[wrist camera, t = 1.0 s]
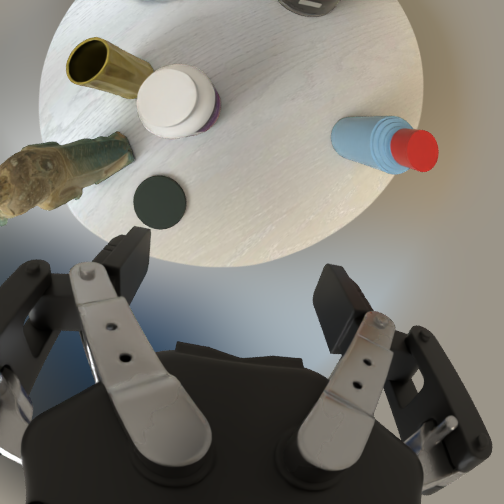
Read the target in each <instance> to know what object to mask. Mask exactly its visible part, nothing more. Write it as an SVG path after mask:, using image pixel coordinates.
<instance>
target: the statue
mask: <svg viewBox="0 0 504 504" xmlns="http://www.w3.org/2000/svg"><path fill="white" fill-rule="evenodd" d="M133 161H134V157H133V154H132V151H131V148H130V145H129V142H128V140H127V137H125V136H124V135H122V134H121V133H120V132H118V131H117V132H115V133H113V134H111V135H110V136H108V137H103V136H100V137H97V138H95V139H81V140H78V141H75V142H72V143H69V144H65V145H59V144H58V143H57V142H47V143H41V144H33V145H28V146H26V147H24V148H22V150H21V151H20V152H18V153H15V154H14V155H12V156H11V157H10V158H8V159H7V160H6V161H5V162H4V163H2V164H1V165H0V226H4V225H6V224H7V220H8V218H13V217H15V216H18V215H22V214H24V213H26V212H27V211H28V210H30V209H31V208H34V207H35V206H39V207H40V208H42V209H44V210H49V211H50V210H53V209H55V208H57V207H59V206H61V205H63V204H66V203H67V202H69V201H70V200H72V199H74V198H75V200H77V199H79V198H80V197H81V195H82V188H84V187H87V186H90V185H92V184H94V183H95V184H99V183H100V182H102V181H103V180H105V179H107V178H108V177H110V176H111V175H113V174H114V173H116V172H118V171H119V170H121V169H122V168H124V167H125V166H127V165H129V164H130V163H132V162H133Z"/></svg>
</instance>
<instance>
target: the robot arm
mask: <svg viewBox="0 0 504 504" xmlns="http://www.w3.org/2000/svg"><path fill="white" fill-rule="evenodd" d="M278 1H279V2H280V3H281V4H282V5H283V6H284V7H285V8H287V9H288V10H290V11H292V12H294V13H296V14H299V15H303V16H310V17H317V16H322V15H325V14H327V13H329V12H331V11H332V10H333V9H334V8H335V6H336V5H337V3H338V2H339V1H340V0H278ZM150 240H151V230H150V229H147V228H142V227H136V226H134V227H133V228H132V229H131V230H130V231H129V232H128V233H127V235H119V236H117V237H115V238H113V239H112V240H111V241H110V242H109V243H108V245H106V246H105V247H104V249H103V250H102V251H101V252H100V253H99V254H98V255H97V256H96V257H95V258H94V260H93V261H92V262H81V263H78V264H76V265H74V266H73V267H72V268H71V269H70V271H69V274H54V273H53V274H52V273H51V270H50V265H49V263H48V262H46V261H44V260H31V261H27V262H25V263H24V264H22V265H21V266H20V267H19V268H18V269H17V270H16V271H15V272H14V273H13V274H12V275H11V276H10V277H9V278H8V279H7V280H6V281H5V282H4V283H3V284H2V285H1V287H0V455H2V454H3V455H5V456H6V457H8V458H10V459H12V460H14V461H15V462H17V463H19V464H21V465H23V470H24V476H25V484H26V504H421V494H423V495H431V494H433V493H435V492H437V491H438V490H440V489H442V488H444V487H445V486H447V485H449V484H450V483H452V482H454V481H455V480H457V479H458V478H460V477H462V476H463V475H465V474H466V473H467V472H469V471H470V470H472V469H473V468H475V467H476V466H478V465H479V464H480V463H482V462H483V461H484V460H486V459H487V458H488V457H489V456H490V455H491V452H492V441H491V439H490V436H489V434H488V432H487V430H486V427H485V425H484V423H483V421H482V419H481V417H480V415H479V413H478V411H477V409H476V407H475V405H474V403H473V401H472V400H471V397H470V395H469V394H468V392H467V390H466V388H465V386H464V384H463V383H462V381H461V379H460V377H459V376H458V374H457V372H456V370H455V369H454V367H453V365H452V364H451V362H450V360H449V359H448V357H447V355H446V354H445V352H444V350H443V349H442V347H441V346H440V344H439V342H438V341H437V339H436V338H435V336H434V335H433V334H432V333H431V332H430V331H429V330H427V329H426V328H424V327H421V326H413V327H412V328H411V330H410V331H409V333H408V334H405V333H402V332H399V331H396V330H395V325H394V323H393V321H392V320H391V319H390V318H389V317H387V316H386V315H384V314H382V313H379V312H376V311H374V310H373V309H372V308H371V306H370V304H369V302H368V301H367V299H366V298H365V296H364V294H363V293H362V291H361V289H360V288H359V286H358V285H357V284H356V283H355V282H354V281H353V280H352V279H351V278H349V276H348V275H347V273H346V271H345V270H344V268H343V267H342V266H337V265H332V264H326V265H325V266H324V268H323V271H322V274H321V276H320V279H319V281H318V284H317V286H316V289H315V291H314V295H313V305H314V308H315V311H316V313H317V316H318V319H319V322H320V325H321V327H322V330H323V333H324V336H325V339H326V342H327V345H328V348H329V351H330V353H331V354H342V357H341V358H340V360H339V362H338V363H337V365H336V367H335V368H334V370H333V372H332V373H331V375H330V377H329V378H328V379H327V378H326V377H324V376H322V375H321V374H319V373H317V372H315V371H312V370H310V369H307V368H304V366H303V362H302V359H301V358H291V357H280V356H265V357H253V358H239V357H236V356H233V355H230V354H227V353H224V352H221V351H218V350H216V349H213V348H210V347H206V346H200V345H194V344H189V343H183V342H179V341H178V342H177V344H176V349H175V350H169V351H160V352H154V350H153V348H152V347H151V345H150V343H149V341H148V340H147V338H146V336H145V334H144V333H143V331H142V329H141V327H140V325H139V324H138V322H137V320H136V318H135V316H134V314H133V313H132V310H131V309H130V307H129V306H130V303H131V302H132V300H133V298H134V296H135V294H136V292H137V290H138V288H139V286H140V284H141V282H142V281H143V279H144V277H145V275H146V273H147V270H148V265H149V254H150ZM28 314H29V319H28V320H27V322H26V323H25V325H24V326H23V324H24V321H25V319H26V317H27V316H28ZM61 330H62V331H79V333H80V337H81V340H82V343H83V347H84V350H85V353H86V356H87V359H88V362H89V365H90V368H91V371H92V374H93V376H94V380H95V383H96V384H94V385H92V386H91V387H89V388H87V389H85V390H84V391H82V392H80V393H79V394H76V395H74V396H73V397H71V398H69V399H67V400H65V401H64V402H62V403H60V404H58V405H56V406H55V407H52V408H50V409H49V410H47V411H45V412H43V413H41V414H40V415H38V416H37V417H35V418H34V419H33V420H32V414H33V405H32V401H31V399H30V397H29V394H30V392H31V389H32V387H33V385H34V383H35V380H36V378H37V376H38V374H39V372H40V370H41V368H42V366H43V364H44V362H45V360H46V358H47V356H48V354H49V352H50V350H51V348H52V346H53V344H54V343H55V341H56V339H57V337H58V335H59V333H60V332H61ZM418 369H419V370H420V371H421V373H422V375H423V378H424V385H423V388H422V389H421V391H420V392H419V393H418V392H417V390H416V388H415V385H414V383H413V381H412V379H411V378H412V376H413V375H414V374H415V373H416V371H417V370H418ZM383 388H384V391H385V393H386V396H387V399H388V402H389V405H390V408H391V410H392V413H393V416H394V419H395V422H396V425H397V428H398V431H399V434H400V438H401V440H400V439H399V438H397V437H396V436H395V435H394V434H393V433H391V432H390V431H389V430H388V429H386V428H385V427H384V426H383V425H381V424H380V423H379V422H378V421H377V420H376V419H375V418H374V412H375V409H376V407H377V404H378V401H379V398H380V395H381V393H382V389H383Z"/></svg>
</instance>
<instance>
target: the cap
mask: <svg viewBox="0 0 504 504" xmlns="http://www.w3.org/2000/svg"><path fill="white" fill-rule="evenodd" d="M390 149H391V153H392V156H393V158H394V160H395V161H396V162H397V163H398V164H400V165H402V166H405V167H408V168H411V169H414V170H417V171H420V172H427V171H429V170H431V169H432V168H433V167H434V165H435V164H436V162H437V159H438V145H437V142H436V140H435V138H434V137H433V135H432V134H430V133H429V132H427V131H425V130H417V129H407V128H403V129H400V130H398V131H397V132H396V133H395V134H394V135H393V137H392V139H391V144H390Z"/></svg>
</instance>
